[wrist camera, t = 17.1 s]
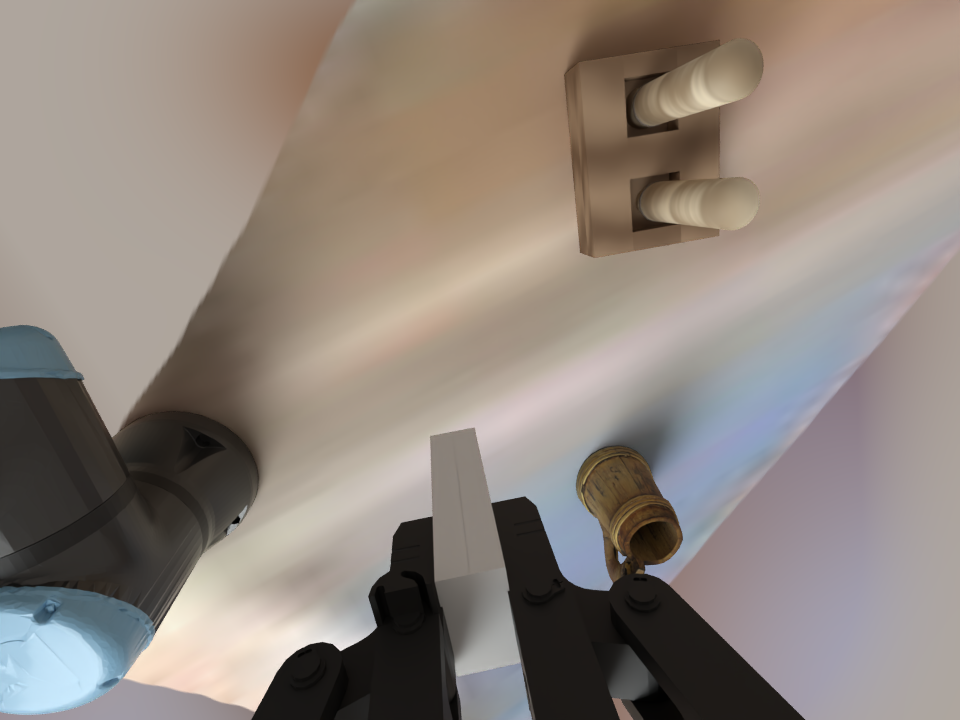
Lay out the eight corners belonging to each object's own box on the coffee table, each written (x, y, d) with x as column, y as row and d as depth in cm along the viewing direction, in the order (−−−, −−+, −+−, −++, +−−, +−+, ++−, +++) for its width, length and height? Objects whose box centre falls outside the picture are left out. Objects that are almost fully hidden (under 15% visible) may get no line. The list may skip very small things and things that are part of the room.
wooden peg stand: (694, 232, 50) (816, 248, 35) (580, 252, 50) (652, 278, 34) (691, 54, 45) (833, -21, 29) (564, 74, 44) (640, 8, 29)
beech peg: (665, 178, 46) (761, 172, 33) (666, 217, 47) (759, 226, 34) (628, 184, 46) (710, 181, 32) (630, 223, 47) (710, 235, 34)
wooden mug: (542, 525, 60) (589, 656, 43) (602, 434, 56) (678, 536, 40) (601, 549, 62) (669, 683, 45) (662, 463, 59) (759, 572, 42)
